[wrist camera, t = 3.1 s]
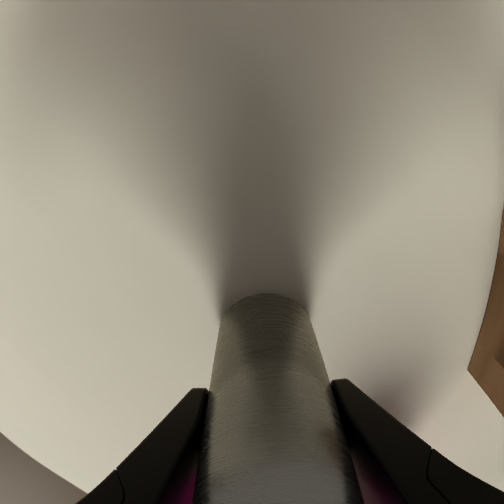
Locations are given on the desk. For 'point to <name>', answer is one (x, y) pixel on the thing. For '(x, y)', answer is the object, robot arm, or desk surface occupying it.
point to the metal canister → (272, 414)
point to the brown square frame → (492, 338)
